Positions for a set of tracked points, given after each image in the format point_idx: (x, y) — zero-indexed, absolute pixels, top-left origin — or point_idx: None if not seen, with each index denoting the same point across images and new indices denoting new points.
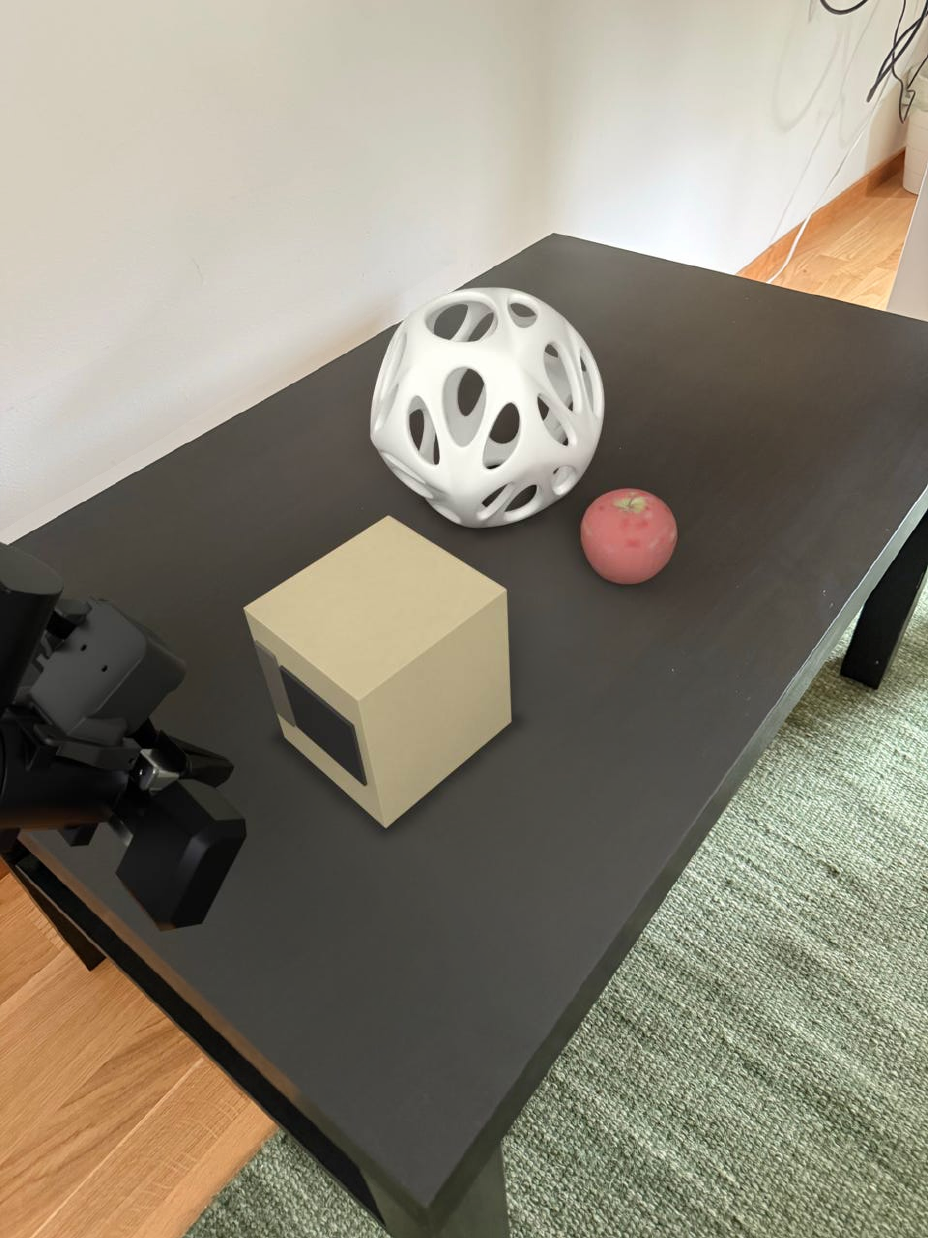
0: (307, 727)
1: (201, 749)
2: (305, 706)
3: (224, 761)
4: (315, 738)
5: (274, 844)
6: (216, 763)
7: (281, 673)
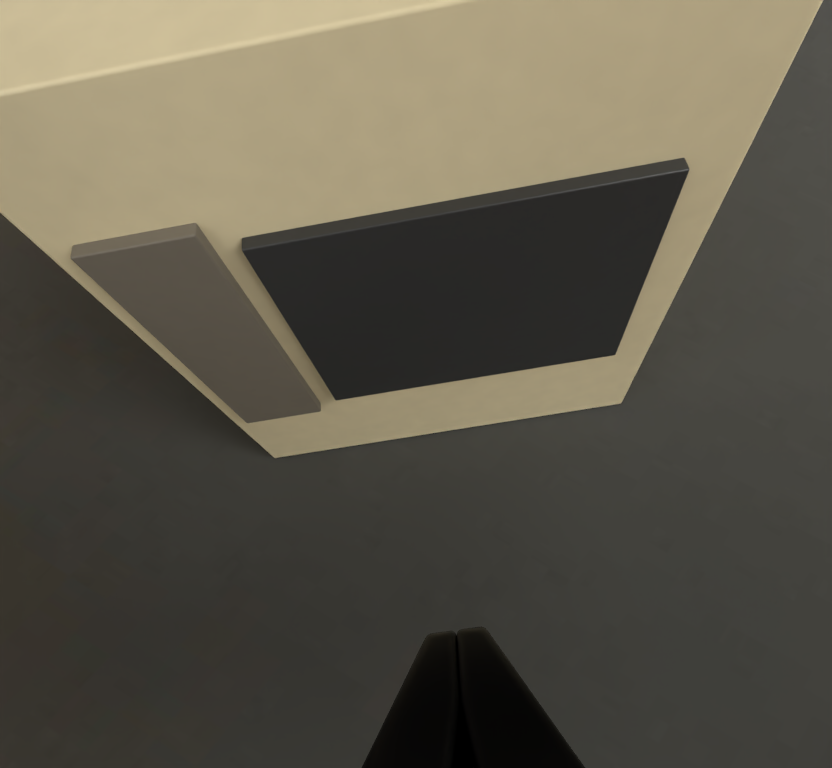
0: (388, 367)
1: (399, 744)
2: (393, 301)
3: (475, 659)
4: (418, 374)
5: (512, 623)
6: (529, 719)
7: (261, 268)
